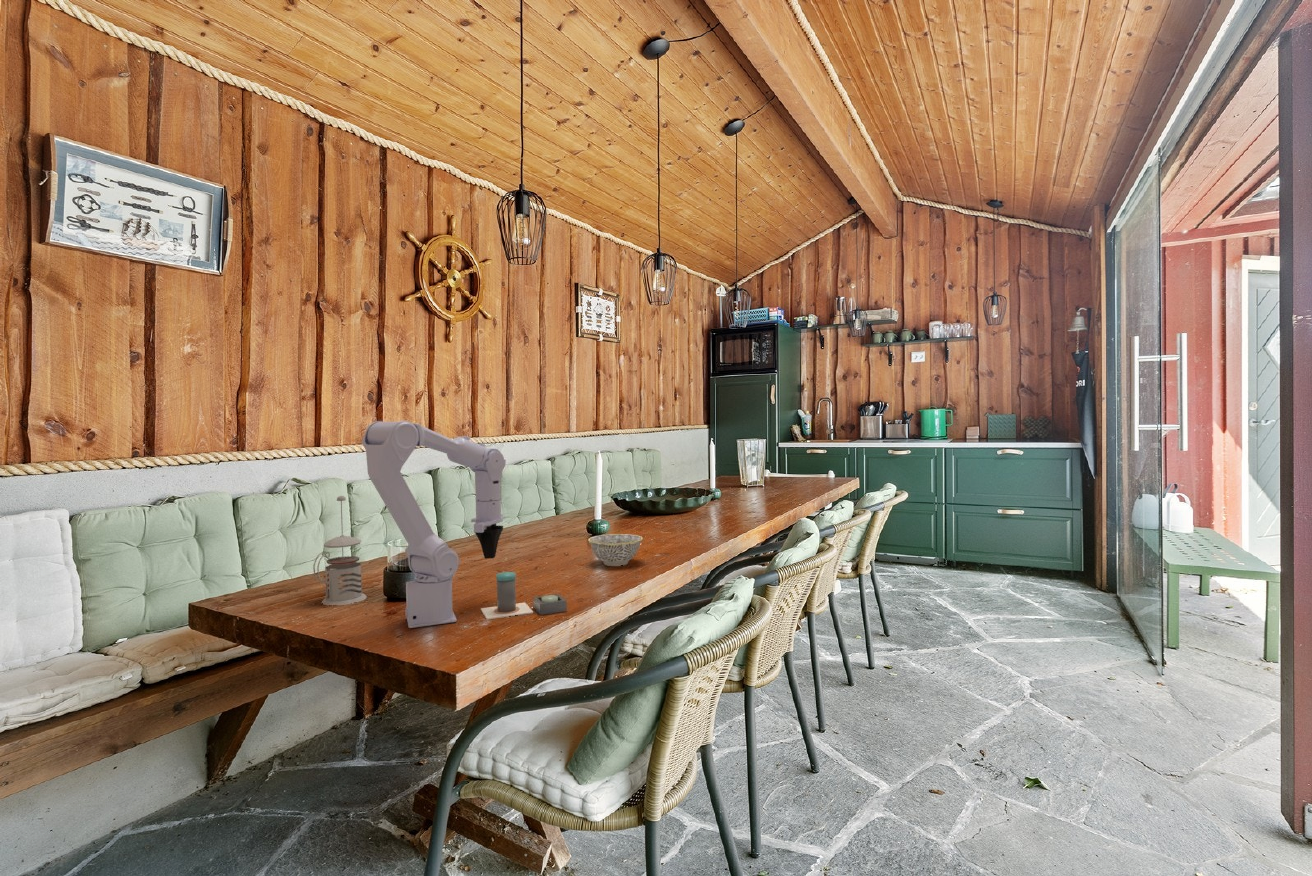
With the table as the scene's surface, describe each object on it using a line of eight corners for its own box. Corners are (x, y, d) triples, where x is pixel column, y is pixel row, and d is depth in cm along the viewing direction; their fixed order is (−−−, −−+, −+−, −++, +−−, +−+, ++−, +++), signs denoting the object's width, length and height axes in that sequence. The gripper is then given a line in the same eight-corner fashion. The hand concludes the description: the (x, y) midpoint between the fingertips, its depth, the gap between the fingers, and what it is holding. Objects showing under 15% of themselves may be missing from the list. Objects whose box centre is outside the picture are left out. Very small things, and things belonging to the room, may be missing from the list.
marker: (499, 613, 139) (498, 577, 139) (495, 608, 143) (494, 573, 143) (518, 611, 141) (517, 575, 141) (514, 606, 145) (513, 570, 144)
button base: (540, 615, 139) (539, 604, 139) (533, 607, 144) (533, 597, 144) (566, 611, 141) (566, 600, 141) (559, 604, 147) (559, 593, 147)
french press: (375, 597, 155) (372, 494, 154) (328, 610, 145) (324, 500, 144) (352, 591, 160) (349, 492, 159) (305, 603, 150) (301, 497, 150)
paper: (486, 619, 136) (486, 618, 136) (480, 609, 143) (480, 608, 143) (533, 613, 140) (533, 611, 140) (525, 603, 148) (525, 602, 148)
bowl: (586, 559, 193) (586, 534, 193) (638, 556, 196) (638, 532, 196) (590, 571, 177) (590, 544, 177) (647, 568, 180) (647, 542, 180)
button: (543, 609, 140) (543, 600, 140) (539, 605, 144) (539, 596, 144) (559, 607, 142) (559, 598, 142) (555, 603, 145) (555, 594, 145)
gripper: (482, 495, 156) (483, 551, 157) (459, 504, 142) (461, 565, 142) (510, 495, 156) (511, 551, 156) (490, 504, 141) (492, 565, 142)
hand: (489, 557), depth 149 cm, fingers closed
